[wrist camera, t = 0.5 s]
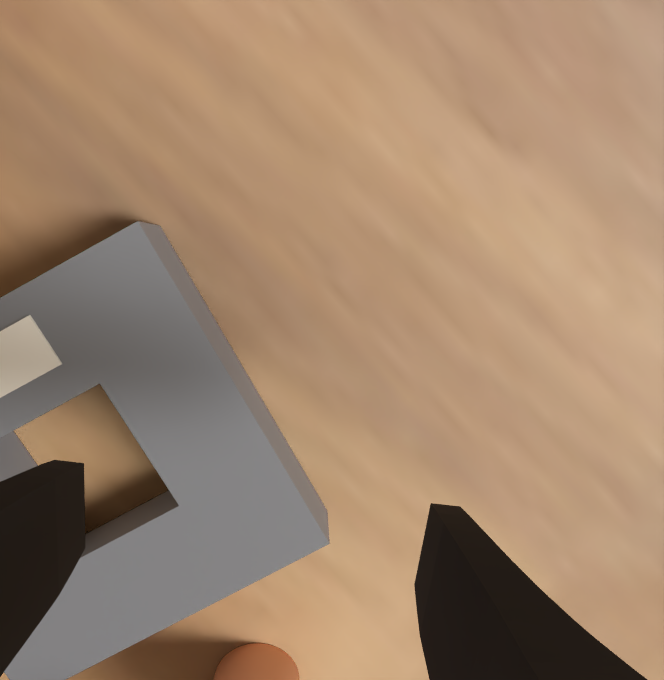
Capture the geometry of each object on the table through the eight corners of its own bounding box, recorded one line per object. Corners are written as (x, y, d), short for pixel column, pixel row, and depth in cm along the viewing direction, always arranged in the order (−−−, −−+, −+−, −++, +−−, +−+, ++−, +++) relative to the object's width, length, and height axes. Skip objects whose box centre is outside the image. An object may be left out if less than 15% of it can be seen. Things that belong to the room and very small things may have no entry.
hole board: (57, 650, 22) (24, 702, 20) (-138, 391, 20) (-205, 411, 17) (327, 510, 22) (329, 544, 19) (160, 225, 19) (136, 220, 17)
